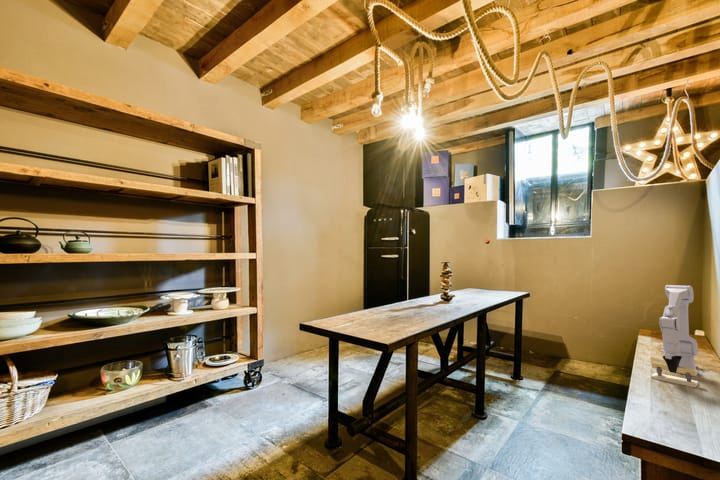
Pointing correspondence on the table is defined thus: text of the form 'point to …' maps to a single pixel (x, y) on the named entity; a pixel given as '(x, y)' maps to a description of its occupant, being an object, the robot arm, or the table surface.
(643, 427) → the table surface
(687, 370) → the wooden bar
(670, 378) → the hook stand
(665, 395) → the table surface
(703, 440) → the table surface
